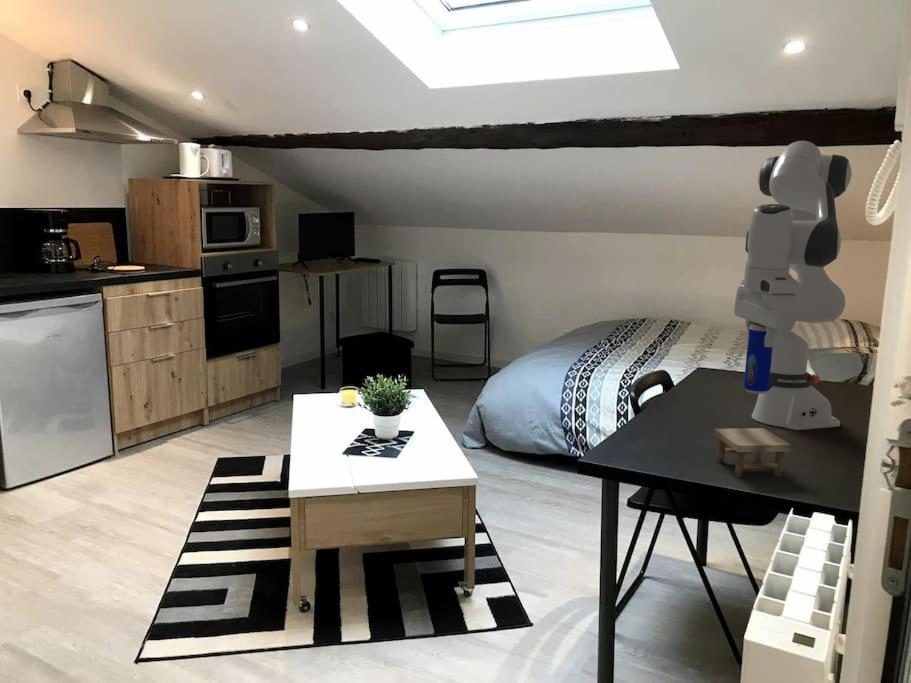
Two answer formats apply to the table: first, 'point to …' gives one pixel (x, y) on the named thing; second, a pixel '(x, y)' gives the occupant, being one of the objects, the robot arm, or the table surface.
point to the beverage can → (757, 361)
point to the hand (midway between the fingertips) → (759, 343)
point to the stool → (751, 448)
